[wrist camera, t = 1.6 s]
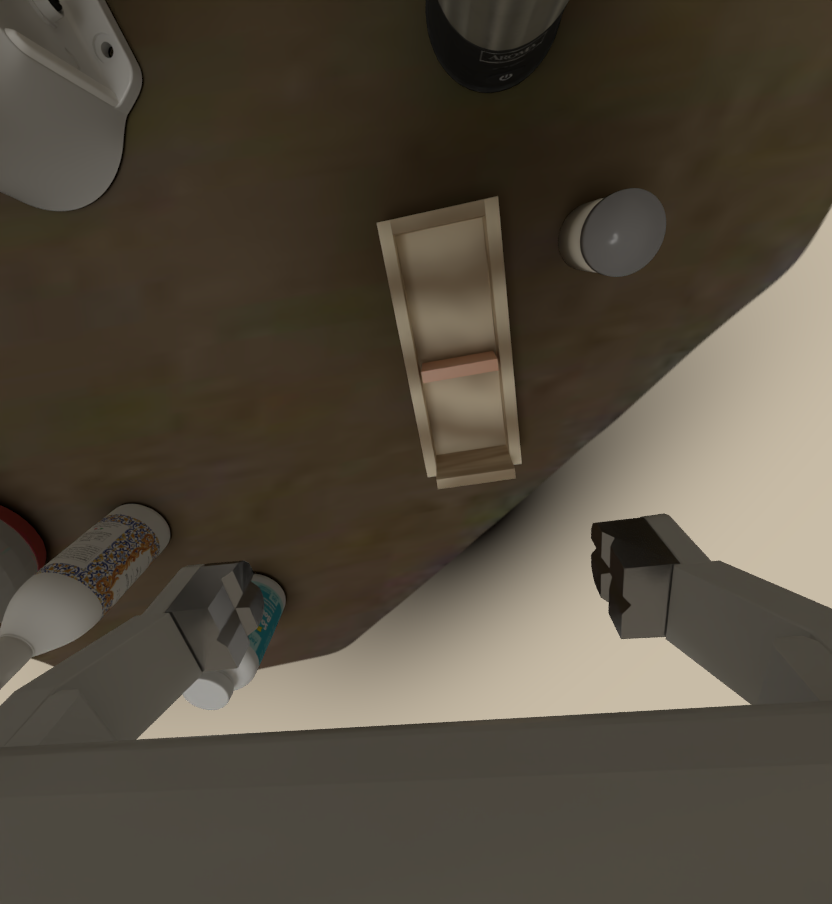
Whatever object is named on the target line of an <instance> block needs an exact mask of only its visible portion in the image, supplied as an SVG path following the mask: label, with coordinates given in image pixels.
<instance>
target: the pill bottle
mask: <svg viewBox="0 0 832 904" xmlns="http://www.w3.org/2000/svg"><path fill="white" fill-rule="evenodd" d="M251 582H253V583H254V584H256V585H257V586H258V587H260V589H261V592H262V594H263V599H264V612H263V618H262V620H261V622H260V624H259V626H258V628H257V629H256V630H254V631H253V632H252V633H251V634H250V635H248V638H249V641H250V645H249V647H248V649H247V651H246V653H245V655H244V657H243V659H242V661H241V663H240V665H239V667H238V668H235V669H226V670H217V671H207V672H202V673H203V674H202V675H201V676H200V677H199V678H198V679H197V680H196V681H195V682H194V683H193V684H192V685H191V686H190V687H189V688H188V689H187V690H186V691H185V692H184V693H183V696H184V698H185V699H186V700H187V701H188V702H189V703H191V704H192V705H194V706H196V707H199V708H202V709H207V710H217V709H220V708H223V707H224V706H225V705H226V704H227V703H228V701H229V699H230V697H231V695H232V694H233V691H234V690H238V689H240V688H242V687H244V686H246V685H247V684H248V683H249V682H250V681H251V680H252V679H253V677H254V676H255V674H256V672H257V670H258V667H259V665H260V663H261V660H262V658H263V656H264V654H265V651H266V649H267V647H268V644H269V642H270V640H271V638H272V635H273V633H274V631H275V628H276V626H277V624H278V622H279V619H280V617H281V615H282V612H283V610H284V607H285V603H286V598H285V594H284V591H283V590H282V588H281V587H280V586H279V584H278V583H276V582H275V581H274V580H272V579H271V578H269V577H266V576H264V575H260V574H254V575H253V577H252V580H251Z"/></svg>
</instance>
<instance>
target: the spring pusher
mask: <svg viewBox="0 0 832 904" xmlns="http://www.w3.org/2000/svg"><path fill="white" fill-rule="evenodd" d="M498 370H499V368H498V359H497V357H496V355H495V353H494V352H493V351H488V352H483V353H477V354H472V355H466V356H460V357H455V358H449V359H443V360H438V361H432V362H426V363H422V370H421V373H422V379H423V383H428V382H434V381H440V380H446V379H452V378H457V377H463V376H469V375H475V374H481V373H487V372H492V371H498Z"/></svg>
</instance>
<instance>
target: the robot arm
mask: <svg viewBox="0 0 832 904" xmlns="http://www.w3.org/2000/svg"><path fill="white" fill-rule="evenodd" d="M111 46H112V48H113V51H114V53H113V56H112V57H111V58H110V57H109V54H108V50H109V48H110V47H111ZM141 86H142V74H141V70H140V67H139V65H138V63H137V61H136V59H135V57H134V55H133V53H132V51H131V49H130V48H129V46H128V44H127V42H126V40H125V38H124V36H123V34H122V32H121V30H120V28H119V27H118V25H117V23H116V21H115V19H114V17H113V15H112V13H111V11H110V9H109V8H108V6H107V4H106V2H105V0H0V192H2V193H4V194H7V195H9V196H11V197H13V198H15V199H17V200H19V201H22V202H24V203H26V204H28V205H31V206H34V207H37V208H41V209H45V210H52V211H68V210H74V209H78V208H82V207H84V206H86V205H88V204H90V203H92V202H93V201H95V200H96V199H98V198H99V197H100V196H101V195H102V194H103V193H104V192H105V191H106V190H107V188H108V187H109V186H110V184H111V182H112V181H113V179H114V177H115V175H116V172H117V170H118V167H119V164H120V160H121V156H122V150H123V140H124V128H125V122H126V118H127V115H128V113H129V112H130V110H131V108H132V106H133V105H134V103H135V101H136V99H137V97H138V95H139V92H140V90H141ZM591 539H592V541H593V542H594V545H595V546H596V549H595V551H594V552H593V553H592V555H591V567H592V573H593V578H594V582H595V585H596V587H597V590H598V592H599V594H600V596H601V598H603V599H604V600H606V601H607V602H609V615H610V617H611V619H612V621H613V623H614V625H615V627H616V630H617V632H618V634H619V636H620V638H621V639H628V638H629V639H630V638H650V637H666V639H667V640H668V641H669V642H670V643H672V644H673V645H675V646H676V647H677V648H678V649H680V650H681V651H682V652H683V653H685V654H686V655H687V656H689V657H690V658H691V659H693V660H694V661H695V662H697V663H698V664H699V665H701V666H702V667H703V668H704V669H706V670H707V671H708V672H710V673H711V674H712V675H713V676H715V677H716V678H717V679H719V680H720V681H721V682H723V683H724V684H725V685H727V686H728V687H729V688H730V689H732V690H733V691H734V692H736V693H737V694H738V695H740V696H741V697H742V698H744V699H745V700H746V701H747V702H749V703H750V704H751V705H742V706H724V707H706V708H689V709H672V710H654V711H636V712H618V713H601V714H582V715H565V716H548V717H531V718H513V719H495V720H494V719H493V720H476V721H458V722H442V723H422V724H405V725H388V726H371V727H352V728H334V729H317V730H301V731H281V732H264V733H246V734H229V735H211V736H194V737H176V738H158V739H140V740H136V739H137V738H138V737H139V736H140V735H141V734H142V733H143V732H144V731H145V730H146V729H147V728H148V727H149V726H150V725H151V724H152V723H153V722H154V721H155V720H156V719H157V718H158V717H159V716H161V715H162V714H163V713H164V712H165V710H167V709H168V708H169V707H170V706H171V704H173V703H174V702H175V701H176V700H177V699H178V698H179V697H180V696H181V695H182V694H183V693H184V692H185V691H186V690H187V689H188V688H189V687H190V686H191V685H192V684H193V683H194V682H195V681H196V680H197V679H198V678H199V677H200V676H201V675H202V674H203V673H202V672H207V671H217V670H226V669H235V668H238V667H239V665H240V663H241V661H242V659H243V657H244V655H245V653H246V651H247V649H248V647H249V645H250V641H249V638H248V635H250V634H251V633H252V632H253V631H254V630H256V629H257V628H258V626H259V624H260V622H261V620H262V618H263V612H264V599H263V594H262V592H261V589H260V587H258V586H257V585H256V584H254V583H253V582H251V580H252V577H253V575H254V573H253V571H252V568H251V566H250V564H249V563H248V562H245V561H232V562H221V563H209V564H199V565H190V566H186V567H184V568H181V569H180V571H179V572H178V573H177V574H176V575H175V576H174V578H173V579H172V580H171V581H170V582H169V584H168V585H167V586H166V587H165V588H164V589H163V591H162V592H161V593H160V594H159V595H158V597H157V598H156V599H155V600H154V601H153V602H152V604H151V605H150V606H149V607H148V608H147V610H146V611H145V612H144V613H143V614H142V615H141V616H135V617H133V618H131V619H130V620H128V621H127V622H125V623H123V624H122V625H120V626H119V627H117V628H115V629H114V630H112V631H111V632H109V633H107V634H106V635H104V636H103V637H101V638H99V639H98V640H96V641H95V642H93V643H91V644H90V645H88V646H87V647H85V648H83V649H82V650H80V651H79V652H77V653H75V654H74V655H72V656H71V657H69V658H67V659H66V660H64V661H63V662H61V663H59V664H58V665H56V666H55V667H53V668H52V669H50V670H48V671H47V672H45V673H44V674H42V675H40V676H39V677H37V678H36V679H34V680H32V681H31V682H29V683H28V684H26V685H24V686H23V687H21V688H20V689H18V690H16V691H15V692H14V693H13V694H12V695H11V696H10V697H9V698H8V699H7V700H6V701H5V702H4V703H3V704H2V705H1V706H0V904H832V609H831V608H829V607H827V606H824V605H822V604H820V603H817V602H815V601H812V600H810V599H808V598H806V597H803V596H801V595H799V594H796V593H794V592H791V591H789V590H787V589H784V588H782V587H780V586H778V585H775V584H773V583H771V582H768V581H766V580H763V579H761V578H759V577H756V576H754V575H752V574H749V573H747V572H745V571H742V570H740V569H738V568H735V567H733V566H731V565H728V564H726V563H724V562H721V561H711V560H710V559H709V558H708V557H707V556H706V555H705V554H704V553H703V552H702V551H701V549H700V548H699V547H698V546H697V545H696V544H695V543H694V542H693V541H692V540H691V539H690V538H689V536H688V535H687V534H686V533H685V532H684V531H683V530H682V529H681V528H680V527H679V526H678V524H677V523H676V522H675V521H674V520H673V519H672V518H671V517H670V516H669V515H667V514H658V515H651V516H644V517H640V518H633V519H624V520H615V521H607V522H598V523H593V525H592V529H591Z"/></svg>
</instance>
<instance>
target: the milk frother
mask: <svg viewBox="0 0 832 904" xmlns="http://www.w3.org/2000/svg"><path fill="white" fill-rule="evenodd" d="M568 1H569V0H426V22H427V28H428V34H429V38H430V41H431V44H432V47H433V50H434V52H435V54H436V56H437V58H438V61H439V62H440V63H441V65H442V67H443V68H444V69H445V70H446V72H447V73H448V74H449V75H450V76H451V77H452V78H453V79H454V80H455V81H456V82H458V83H459V84H460V85H462V86H464V87H466V88H468V89H470V90H473V91H478V92H483V93H490V92H498V91H502V90H506V89H508V88H511V87H513V86H515V85H517V84H518V83H520V82H521V81H523V80H524V79H525V78H526V77H527V76H529V75H530V74H531V73H532V72H533V71H534V70H535V69H536V68H537V67H538V65H539V64H540V63H541V62H542V60H543V59H544V57H545V56H546V54H547V53H548V51H549V49H550V47H551V45H552V43H553V41H554V39H555V36H556V34H557V31H558V28H559V24H560V21H561V17H562V14H563V12H564V9H565V7H566V5H567V3H568Z"/></svg>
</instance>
